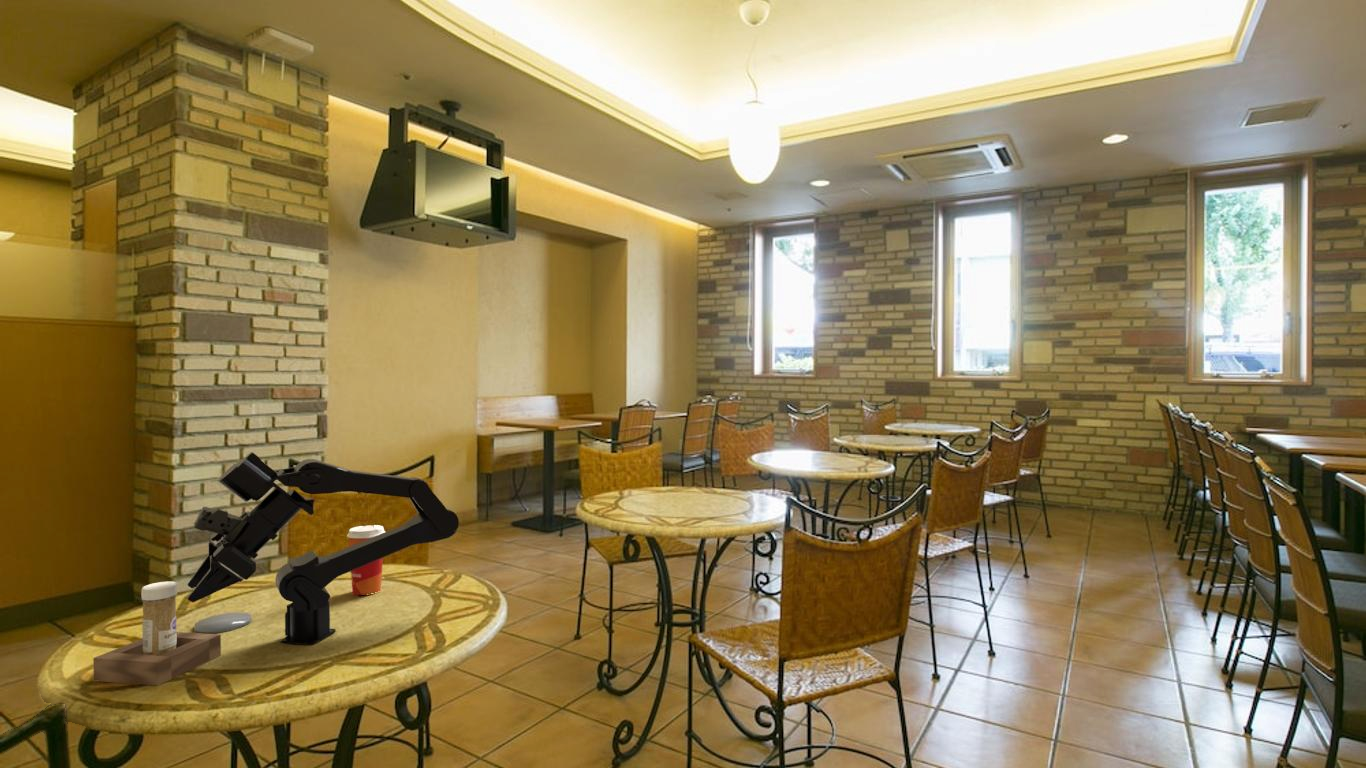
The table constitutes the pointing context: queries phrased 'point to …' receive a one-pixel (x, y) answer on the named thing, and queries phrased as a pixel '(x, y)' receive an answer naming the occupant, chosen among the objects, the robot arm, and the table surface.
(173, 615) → the sprinkles bottle
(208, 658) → the walnut caddy
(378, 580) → the paper cup
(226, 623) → the slate coaster
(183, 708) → the table surface
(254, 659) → the table surface
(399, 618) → the table surface
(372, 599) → the table surface
